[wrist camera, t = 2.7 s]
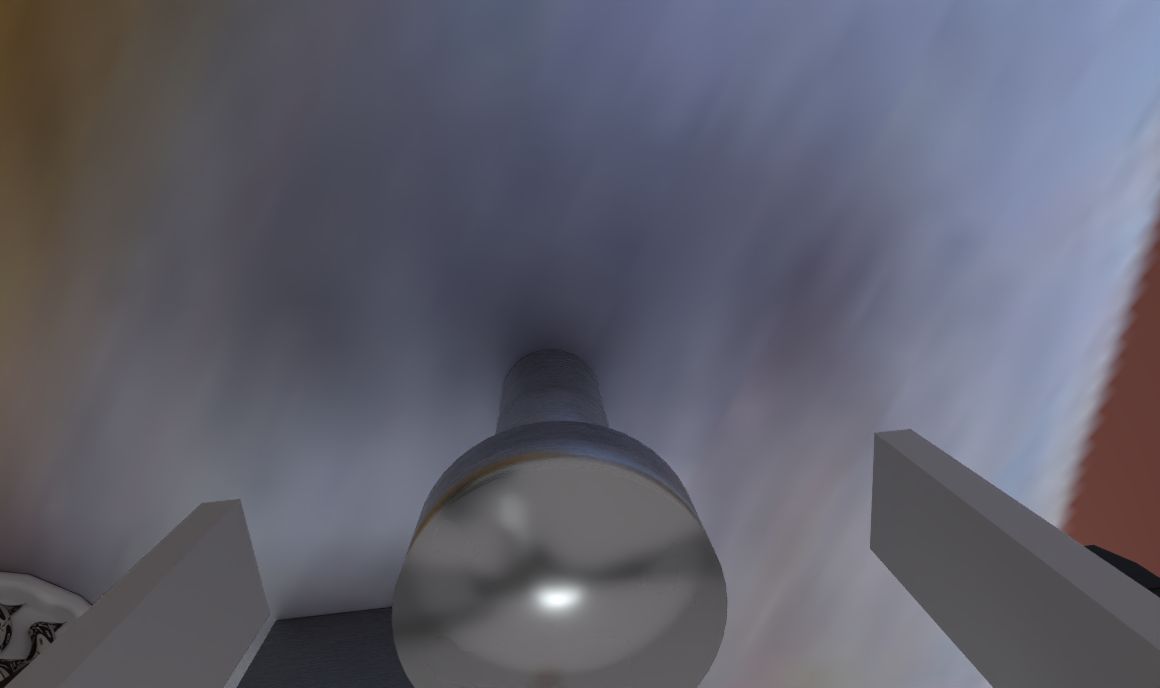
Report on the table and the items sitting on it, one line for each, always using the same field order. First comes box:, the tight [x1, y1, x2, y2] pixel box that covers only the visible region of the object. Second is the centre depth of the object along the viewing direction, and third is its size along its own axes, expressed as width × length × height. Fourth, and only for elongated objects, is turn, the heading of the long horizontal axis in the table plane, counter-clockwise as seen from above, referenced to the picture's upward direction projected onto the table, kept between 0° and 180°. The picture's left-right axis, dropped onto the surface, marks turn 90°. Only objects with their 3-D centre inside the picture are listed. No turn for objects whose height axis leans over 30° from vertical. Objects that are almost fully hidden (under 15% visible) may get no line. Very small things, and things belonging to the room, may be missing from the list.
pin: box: [392, 350, 727, 688], centre depth 14 cm, size 5×5×10 cm
